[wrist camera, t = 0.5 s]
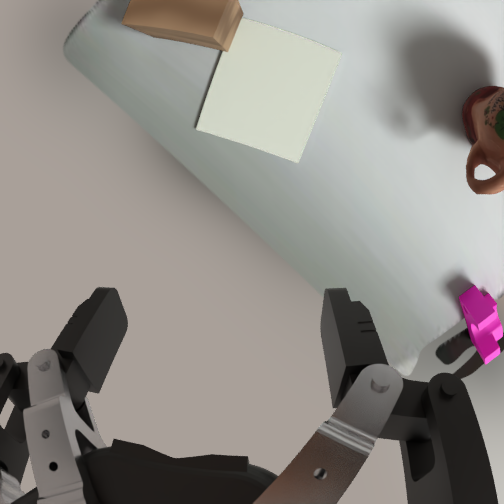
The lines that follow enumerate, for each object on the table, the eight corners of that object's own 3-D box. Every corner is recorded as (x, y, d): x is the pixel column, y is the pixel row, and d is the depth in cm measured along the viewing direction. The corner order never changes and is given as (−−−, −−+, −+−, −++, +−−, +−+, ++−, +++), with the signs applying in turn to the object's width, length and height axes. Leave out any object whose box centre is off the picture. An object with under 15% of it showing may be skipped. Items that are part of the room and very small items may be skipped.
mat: (237, 17, 25) (237, 16, 25) (341, 53, 26) (342, 53, 26) (196, 129, 31) (195, 129, 31) (297, 162, 33) (297, 163, 33)
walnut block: (168, 0, 24) (140, -22, 16) (243, 13, 24) (233, -11, 17) (153, 37, 26) (121, 23, 19) (227, 52, 27) (213, 37, 20)
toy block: (493, 321, 45) (509, 346, 39) (470, 338, 47) (485, 364, 41) (484, 276, 40) (506, 302, 33) (457, 296, 42) (477, 324, 36)
